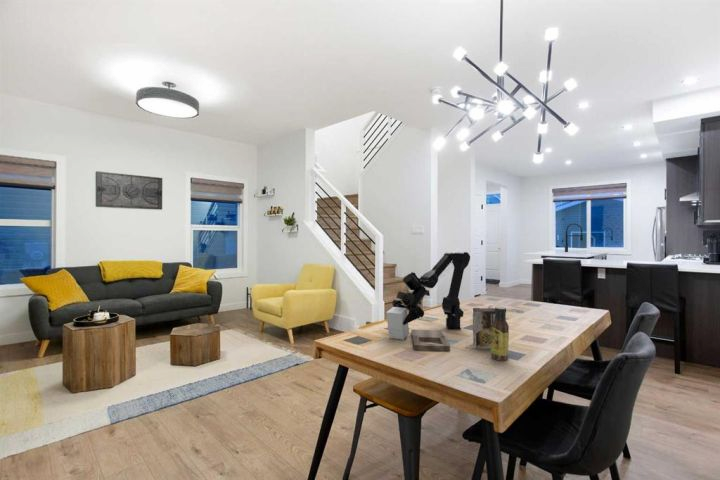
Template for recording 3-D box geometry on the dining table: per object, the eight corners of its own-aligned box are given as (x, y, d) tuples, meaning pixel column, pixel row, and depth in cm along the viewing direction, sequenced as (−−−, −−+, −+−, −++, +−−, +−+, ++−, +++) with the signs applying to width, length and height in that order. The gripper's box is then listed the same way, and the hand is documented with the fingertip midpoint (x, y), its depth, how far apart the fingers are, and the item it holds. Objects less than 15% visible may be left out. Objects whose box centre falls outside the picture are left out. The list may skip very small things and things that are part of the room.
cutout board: (441, 334, 171) (441, 330, 171) (449, 351, 147) (449, 346, 147) (411, 333, 172) (411, 329, 172) (414, 350, 148) (414, 345, 148)
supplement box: (409, 333, 167) (407, 307, 165) (403, 340, 161) (400, 313, 159) (395, 331, 171) (393, 306, 169) (388, 337, 165) (385, 312, 163)
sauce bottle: (488, 355, 141) (488, 305, 141) (503, 355, 142) (503, 305, 141) (495, 361, 135) (496, 309, 134) (511, 361, 136) (512, 308, 135)
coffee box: (493, 344, 155) (494, 307, 155) (498, 349, 149) (498, 311, 149) (472, 344, 156) (472, 307, 156) (475, 348, 150) (475, 310, 149)
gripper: (395, 283, 176) (376, 307, 170) (419, 287, 160) (399, 314, 154) (407, 298, 180) (389, 322, 174) (432, 304, 164) (413, 330, 158)
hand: (397, 322), depth 165 cm, fingers closed on supplement box, 9 cm apart
